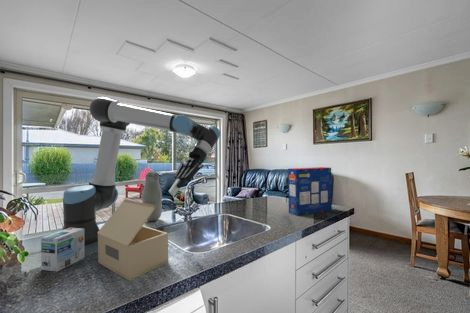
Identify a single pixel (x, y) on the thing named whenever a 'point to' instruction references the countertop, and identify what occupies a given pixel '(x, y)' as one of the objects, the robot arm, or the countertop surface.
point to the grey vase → (153, 194)
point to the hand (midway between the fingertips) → (171, 193)
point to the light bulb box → (62, 249)
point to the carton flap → (126, 221)
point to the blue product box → (309, 190)
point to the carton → (134, 253)
